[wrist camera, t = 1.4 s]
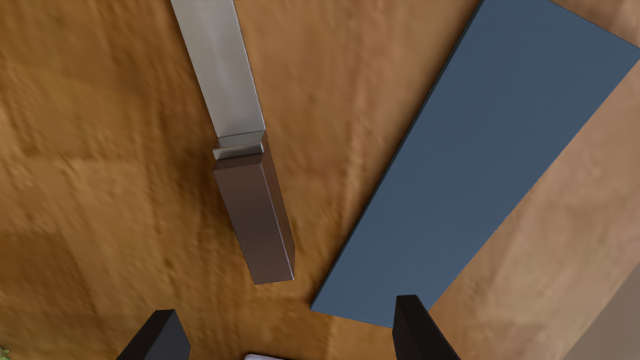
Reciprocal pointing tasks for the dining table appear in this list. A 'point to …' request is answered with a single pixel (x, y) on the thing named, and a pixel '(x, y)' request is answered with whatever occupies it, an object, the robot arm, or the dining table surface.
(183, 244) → the dining table surface
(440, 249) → the mat
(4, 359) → the vegetable
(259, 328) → the dining table surface
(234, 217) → the knife
